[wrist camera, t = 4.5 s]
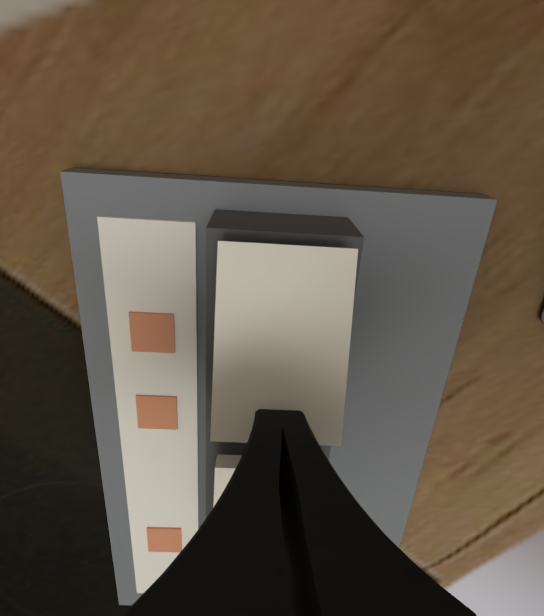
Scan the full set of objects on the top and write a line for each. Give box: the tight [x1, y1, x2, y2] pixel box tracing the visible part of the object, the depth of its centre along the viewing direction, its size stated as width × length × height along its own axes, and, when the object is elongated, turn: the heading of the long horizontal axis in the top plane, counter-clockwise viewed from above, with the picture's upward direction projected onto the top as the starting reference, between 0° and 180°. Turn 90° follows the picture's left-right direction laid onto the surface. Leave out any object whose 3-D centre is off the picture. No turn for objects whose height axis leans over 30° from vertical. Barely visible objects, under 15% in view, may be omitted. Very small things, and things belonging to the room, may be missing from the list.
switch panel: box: [60, 168, 497, 605], centre depth 20 cm, size 16×25×4 cm, turn 176°
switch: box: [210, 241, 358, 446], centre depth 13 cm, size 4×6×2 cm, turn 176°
